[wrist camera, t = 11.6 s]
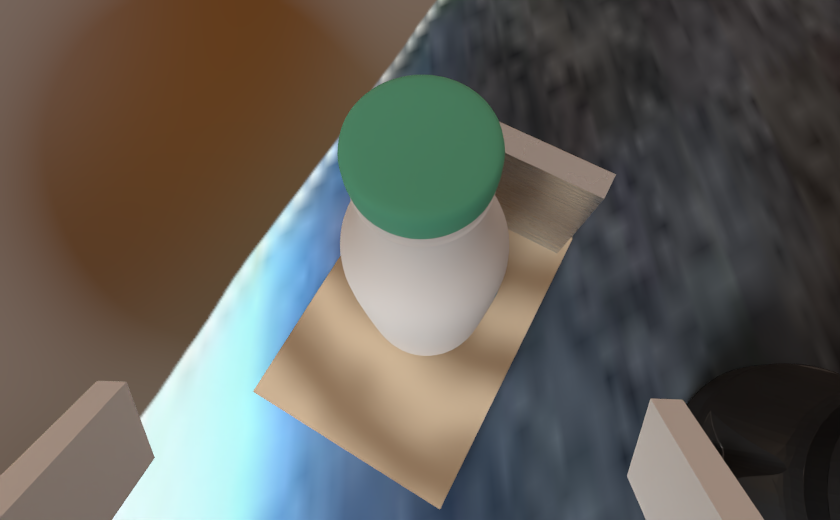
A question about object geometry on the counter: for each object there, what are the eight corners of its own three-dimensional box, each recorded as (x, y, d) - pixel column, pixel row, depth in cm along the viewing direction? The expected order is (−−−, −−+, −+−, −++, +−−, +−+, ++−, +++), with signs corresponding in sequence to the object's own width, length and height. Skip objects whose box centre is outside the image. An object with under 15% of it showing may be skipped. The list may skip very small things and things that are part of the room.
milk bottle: (463, 373, 29) (526, 323, 10) (354, 335, 30) (224, 226, 11) (495, 266, 31) (596, 60, 12) (393, 234, 32) (339, -3, 13)
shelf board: (405, 169, 36) (404, 156, 34) (564, 247, 34) (572, 238, 32) (264, 391, 31) (253, 391, 29) (439, 502, 29) (439, 509, 27)
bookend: (410, 159, 34) (403, 78, 26) (566, 235, 32) (615, 174, 23) (399, 175, 34) (389, 98, 25) (557, 253, 32) (604, 198, 23)
